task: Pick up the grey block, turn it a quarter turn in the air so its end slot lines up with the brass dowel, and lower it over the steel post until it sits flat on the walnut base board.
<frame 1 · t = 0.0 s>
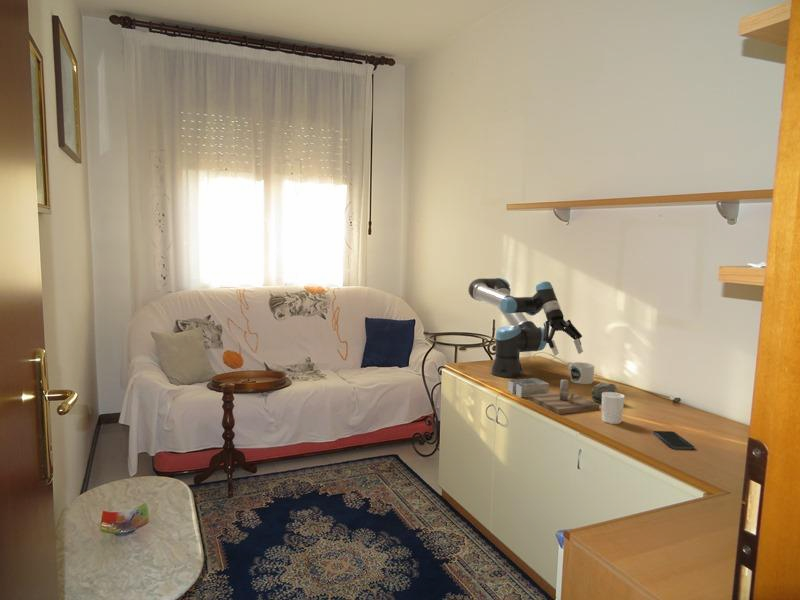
hand: (568, 353, 250), 15 cm above the sideboard top, tool tilted 35°, fingers open, 13 cm apart
grey block: (527, 393, 240), on the sideboard top
fossil: (604, 402, 230), on the sideboard top
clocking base: (563, 404, 225), on the sideboard top
phone: (672, 442, 186), on the sideboard top
white cup: (611, 421, 205), on the sideboard top
mug: (578, 381, 263), on the sideboard top
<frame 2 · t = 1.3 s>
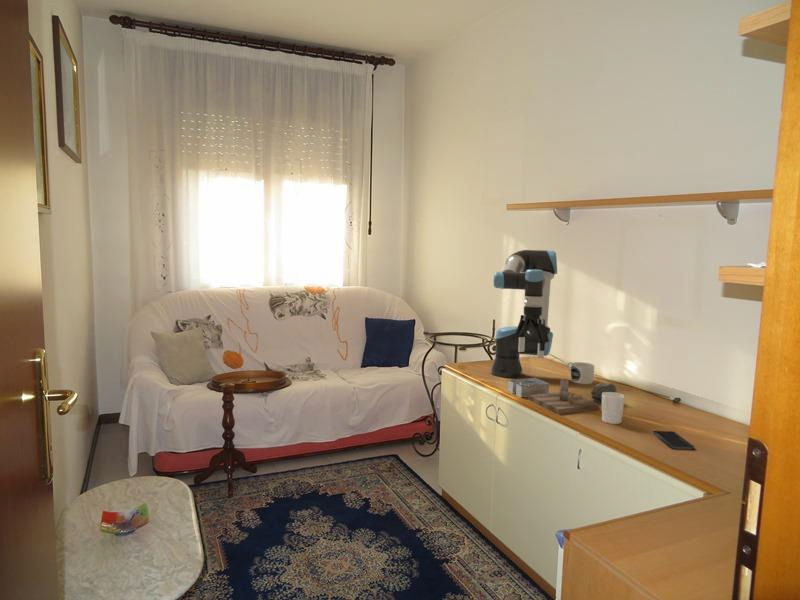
hand: (530, 355, 238), 17 cm above the sideboard top, tool pointing down, fingers open, 13 cm apart
nothing on the sideboard top moved.
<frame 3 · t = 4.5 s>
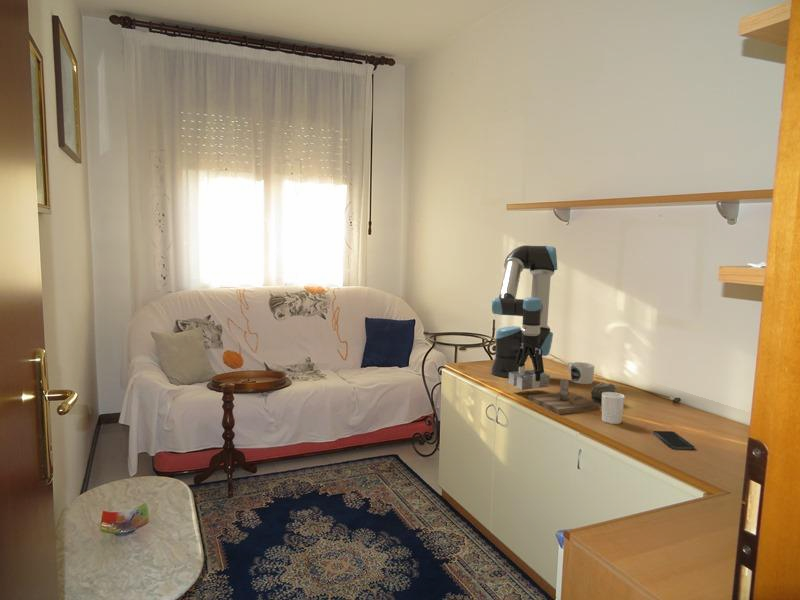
hand: (528, 384, 240), 4 cm above the sideboard top, tool pointing down, fingers closed on grey block, 10 cm apart
grey block: (528, 385, 240), point 3 cm above the sideboard top, touching gripper
when the fingers open (3 cm above the sideboard top, at t = 10.4 s): grey block stays where it is, resting on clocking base.
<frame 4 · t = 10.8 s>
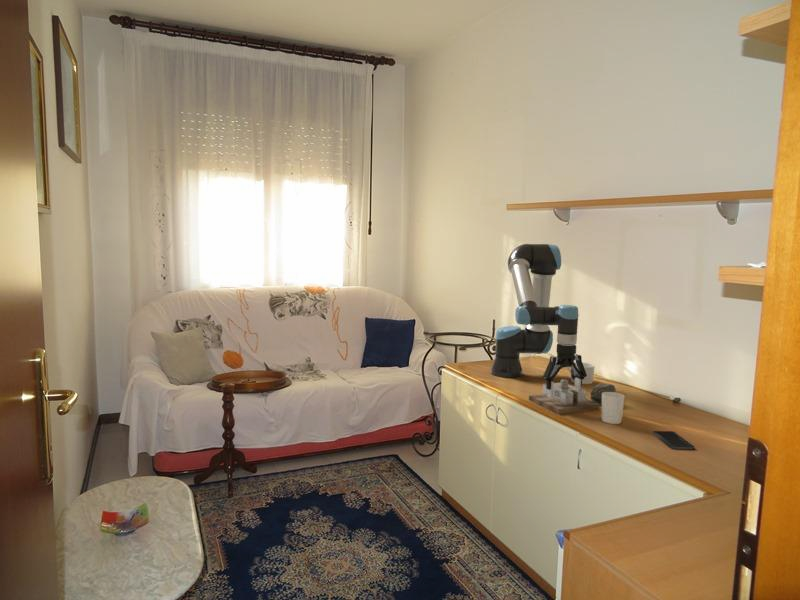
hand: (563, 395, 224), 4 cm above the sideboard top, tool pointing down, fingers open, 13 cm apart
grey block: (563, 399, 224), point 2 cm above the sideboard top, touching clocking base
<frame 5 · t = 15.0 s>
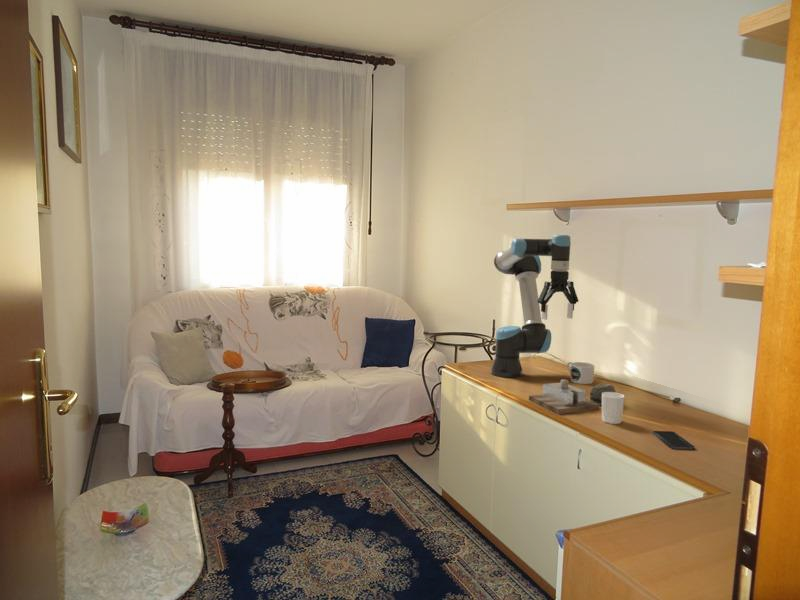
hand: (557, 318, 244), 32 cm above the sideboard top, tool pointing down, fingers open, 13 cm apart
at the end: grey block 0.1 cm off-centre on the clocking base, point 2.0 cm above the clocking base's base; grey block tilted 0°; the gripper is holding nothing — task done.
